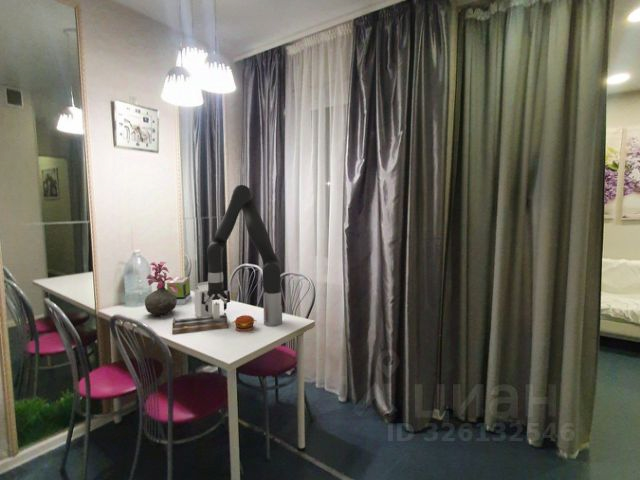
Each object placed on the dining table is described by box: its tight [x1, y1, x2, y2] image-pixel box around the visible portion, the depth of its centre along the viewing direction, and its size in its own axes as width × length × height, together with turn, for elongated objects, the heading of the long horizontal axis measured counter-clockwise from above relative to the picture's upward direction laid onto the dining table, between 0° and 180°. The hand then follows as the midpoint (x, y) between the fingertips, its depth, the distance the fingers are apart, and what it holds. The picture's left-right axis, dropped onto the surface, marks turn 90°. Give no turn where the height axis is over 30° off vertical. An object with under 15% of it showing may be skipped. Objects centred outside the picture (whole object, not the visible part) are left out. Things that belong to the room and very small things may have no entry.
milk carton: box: [193, 281, 213, 317], centre depth 186 cm, size 7×7×19 cm
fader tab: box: [212, 301, 221, 319], centre depth 173 cm, size 3×4×9 cm, turn 21°
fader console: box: [171, 312, 229, 335], centre depth 170 cm, size 26×14×4 cm, turn 111°
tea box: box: [166, 276, 192, 306], centre depth 211 cm, size 15×10×15 cm
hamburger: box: [232, 314, 257, 333], centre depth 167 cm, size 9×10×7 cm
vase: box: [144, 261, 178, 317], centre depth 186 cm, size 17×18×30 cm
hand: (216, 310), depth 173 cm, fingers open, 8 cm apart
